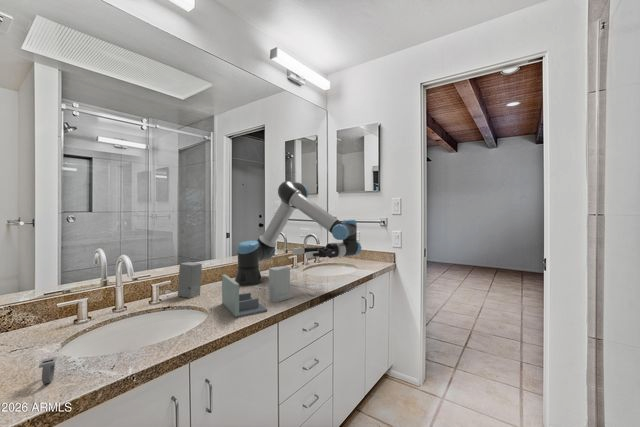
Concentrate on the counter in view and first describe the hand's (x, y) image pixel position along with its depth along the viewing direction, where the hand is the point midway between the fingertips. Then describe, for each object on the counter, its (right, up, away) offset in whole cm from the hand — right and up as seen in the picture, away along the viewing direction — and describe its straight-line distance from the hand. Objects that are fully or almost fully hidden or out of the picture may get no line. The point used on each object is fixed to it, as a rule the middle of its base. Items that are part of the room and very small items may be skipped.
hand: (299, 253), depth 135 cm
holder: (-22, -21, -16) cm, 34 cm away
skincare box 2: (-9, -21, -5) cm, 23 cm away
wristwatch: (-55, -21, -68) cm, 90 cm away
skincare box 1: (-53, -21, +1) cm, 57 cm away
